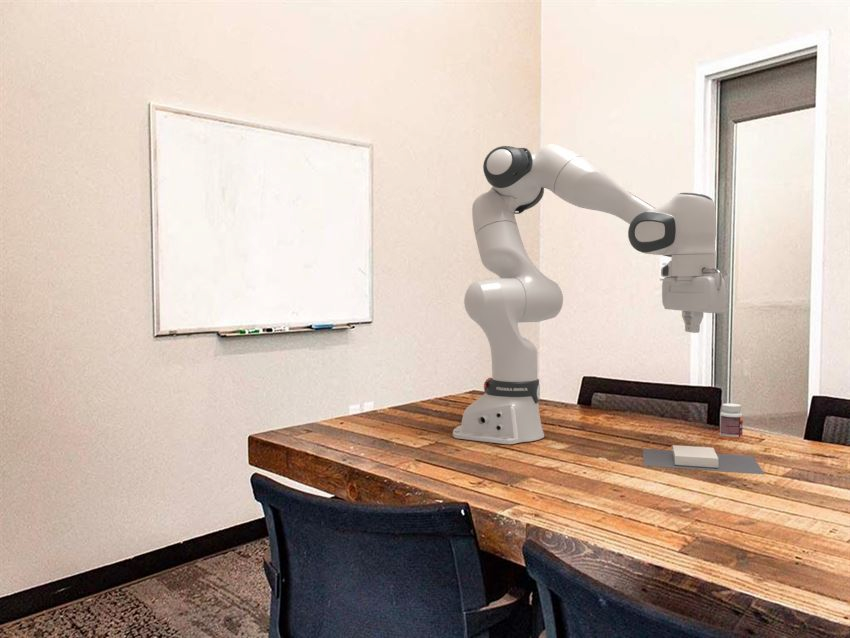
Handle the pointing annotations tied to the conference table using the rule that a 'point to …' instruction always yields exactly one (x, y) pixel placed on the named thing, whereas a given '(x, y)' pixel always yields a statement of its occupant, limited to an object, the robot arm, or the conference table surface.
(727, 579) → the conference table surface
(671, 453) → the mat
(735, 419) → the pill bottle
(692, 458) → the tile
